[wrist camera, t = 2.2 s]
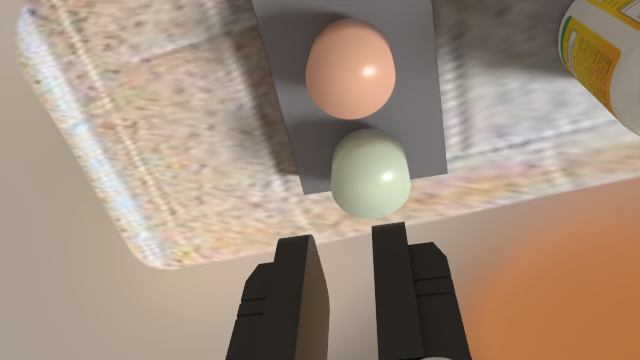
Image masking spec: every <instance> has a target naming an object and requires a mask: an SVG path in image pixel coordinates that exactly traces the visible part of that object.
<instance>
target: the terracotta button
mask: <svg viewBox="0 0 640 360" xmlns="http://www.w3.org/2000/svg"><path fill="white" fill-rule="evenodd" d="M394 84H395V67H394V62H393V57H392V53H391V48H390V45H389V42H388V40H387V38H386V37H385V35H384V34H383V33H382V32H381V30H380V29H378V28H377V27H376V26H375V25H373V24H371V23H369V22H367V21H365V20H361V19H356V18H347V19H341V20H338V21H335V22H333V23H331V24H329V25H328V26H326V27H325V28H324V29H323V30H322V31H320V33H319V34H318V35H317V37H316V38H315V40H314V42H313V44H312V47H311V50H310V55H309V59H308V63H307V67H306V86H307V89H308V92H309V94H310V96H311V98H312V100H313V101H314V102H315V104H316V105H317V106H318V107H319V108H320V109H322V110H323V111H324V112H326V113H328V114H329V115H332V116H334V117H337V118H342V119H358V118H363V117H366V116H368V115H370V114H373V113H374V112H376V111H377V110H379V109H380V108H381V107H382V106H383V105H384V104H385V103H386V101H387V100H388V99H389V97H390V95H391V93H392V91H393V88H394Z"/></svg>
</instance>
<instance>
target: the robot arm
mask: <svg viewBox="0 0 640 360" xmlns="http://www.w3.org/2000/svg"><path fill="white" fill-rule="evenodd" d="M372 242H373V243H372V244H373V264H374V281H375V299H376V300H375V301H376V320H377V339H378V356H379V357H378V358H379V360H472V358H471V356H470V351H469V347H468V343H467V339H466V335H465V331H464V326H463V322H462V318H461V314H460V310H459V306H458V302H457V298H456V295H455V290H454V285H453V281H452V278H451V273H450V269H449V265H448V261H447V257H446V256H445V255H444V254H443V253H442V252H441V250H440V249H439V248H438V247H437V246H436V245H435V244H434V243H433V242H429V243H420V244H413V245H408V242H407V235H406V229H405V222H399V223H392V224H384V225H377V226H372ZM329 313H330V308H329V295H328V289H327V285H326V280H325V277H324V273H323V269H322V266H321V262H320V258H319V255H318V251H317V247H316V244H315V240H314V238H313V236H312V235H311V234H310V235H302V236H295V237H288V238H280V239H279V240H278V243H277V248H276V252H275V258H274V262H271V263H263V264H259V265H258V266H257V267H256V268H255V270H254V271H253V273H252V274H251V275H250V276H249V278H248V279H247V280H246V282H245V286H244V290H243V294H242V298H241V304H240V305H239V309H238V314H237V319H236V321H235V325H234V329H233V333H232V336H231V340H230V344H229V348H228V352H227V356H226V359H225V360H327V353H328V352H327V351H328V333H329Z"/></svg>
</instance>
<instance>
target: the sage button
mask: <svg viewBox="0 0 640 360" xmlns="http://www.w3.org/2000/svg"><path fill="white" fill-rule="evenodd" d="M410 187H411V182H410V176H409V171H408V165H407V160H406V155H405V151H404V148H403V146H402V144H401V143H400V142H399V141H398V140H397V138H395V137H394V136H393V135H391V134H390V133H388V132H385V131H383V130H379V129H371V128H369V129H361V130H357V131H354V132H352V133H350V134H348V135H347V136H345V137H344V138H343V139H342V140H341V141H340V142H339V143H338V145H337V146H336V148H335V151H334V153H333V160H332V174H331V192H332V195H333V198H334V200H335V201H336V203H337V204H338V205H339V206H340V207H341V208H342V209H343V210H344V211H346V212H347V213H349V214H351V215H354V216H356V217H360V218H369V219H371V218H380V217H384V216H386V215H389V214H391V213H393V212H394V211H396V210H397V209H399V208H400V207H401V206H402V205H403V203H404V202H405V201H406V199H407V197H408V195H409V192H410Z"/></svg>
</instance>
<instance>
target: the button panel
mask: <svg viewBox="0 0 640 360" xmlns="http://www.w3.org/2000/svg"><path fill="white" fill-rule="evenodd" d="M252 4H253V7H254V11H255V15H256V18H257V22H258V26H259V30H260V33H261V37H262V41H263V44H264V48H265V52H266V55H267V59H268V63H269V67H270V70H271V74H272V78H273V81H274V85H275V89H276V92H277V96H278V100H279V104H280V107H281V111H282V115H283V118H284V122H285V126H286V129H287V133H288V137H289V141H290V144H291V148H292V152H293V155H294V159H295V163H296V166H297V170H298V174H299V178H300V181H301V185H302V189H303V192H304V195H307V194H313V193H320V192H327V191H331V174H332V160H333V153H334V151H335V148H336V146H337V145H338V143H339V142H340V141H341V140H342V139H343V138H344V137H345V136H347V135H348V134H350V133H352V132H354V131H357V130H361V129H369V128H371V129H379V130H383V131H385V132H388V133H390V134H391V135H393V136H394V137H395V138H397V140H398V141H399V142H400V143H401V144H402V146H403V148H404V151H405V155H406V160H407V165H408V171H409V176H410V179H415V178H422V177H429V176H435V175H442V174H448V172H447V162H446V151H445V140H444V129H443V119H442V108H441V97H440V86H439V76H438V65H437V54H436V43H435V33H434V22H433V11H432V0H252ZM347 18H356V19H361V20H365V21H367V22H369V23H371V24H373V25H375V26H376V27H377V28H378V29H380V30H381V32H382V33H383V34H384V35H385V37H386V38H387V40H388V42H389V45H390V48H391V53H392V57H393V62H394V67H395V84H394V88H393V91H392V93H391V95H390V97H389V99H388V100H387V101H386V103H385V104H384V105H383V106H382V107H381V108H380V109H379V110H377V111H376V112H374V113H373V114H370V115H368V116H366V117H363V118H358V119H342V118H337V117H334V116H332V115H329V114H328V113H326V112H324V111H323V110H322V109H320V108H319V107H318V106H317V105H316V104H315V102H314V101H313V100H312V98H311V96H310V94H309V92H308V89H307V86H306V67H307V63H308V59H309V55H310V50H311V47H312V44H313V42H314V40H315V38H316V37H317V35H318V34H319V33H320V31H322V30H323V29H324V28H325V27H326V26H328V25H329V24H331V23H333V22H335V21H338V20H341V19H347Z"/></svg>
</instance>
